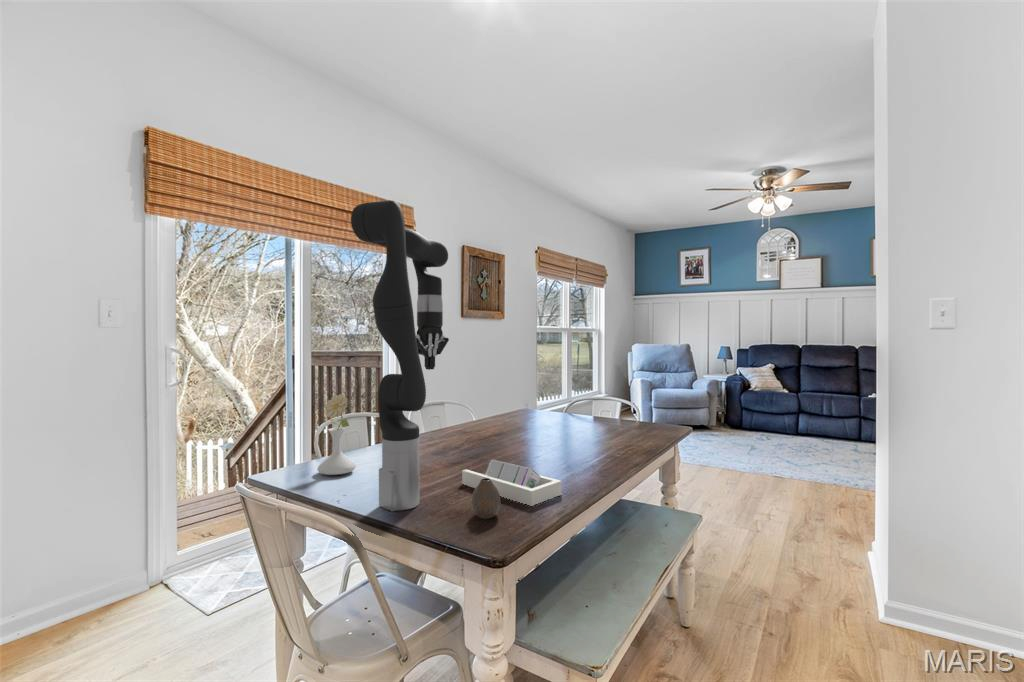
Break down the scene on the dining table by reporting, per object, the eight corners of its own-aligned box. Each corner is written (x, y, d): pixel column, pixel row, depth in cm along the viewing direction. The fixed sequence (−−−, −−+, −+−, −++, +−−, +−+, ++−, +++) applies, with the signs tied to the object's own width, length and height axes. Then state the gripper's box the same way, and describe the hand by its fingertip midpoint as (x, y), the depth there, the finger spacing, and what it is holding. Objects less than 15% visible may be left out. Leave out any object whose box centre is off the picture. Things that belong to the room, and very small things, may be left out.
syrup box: (483, 477, 138) (523, 489, 129) (491, 458, 141) (531, 468, 131) (494, 485, 142) (534, 496, 133) (502, 465, 144) (541, 475, 135)
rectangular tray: (531, 507, 124) (531, 491, 124) (462, 484, 143) (462, 470, 143) (561, 495, 132) (561, 480, 132) (492, 475, 151) (492, 462, 151)
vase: (500, 510, 122) (500, 475, 121) (500, 521, 115) (500, 483, 115) (472, 510, 121) (472, 475, 121) (470, 521, 114) (470, 483, 114)
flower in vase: (311, 472, 154) (311, 393, 154) (347, 466, 162) (346, 390, 162) (327, 482, 145) (327, 397, 144) (364, 474, 152) (364, 393, 152)
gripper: (418, 309, 139) (418, 371, 139) (455, 311, 148) (455, 368, 148) (403, 310, 144) (403, 369, 144) (439, 312, 153) (439, 367, 154)
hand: (429, 369), depth 146 cm, fingers closed
